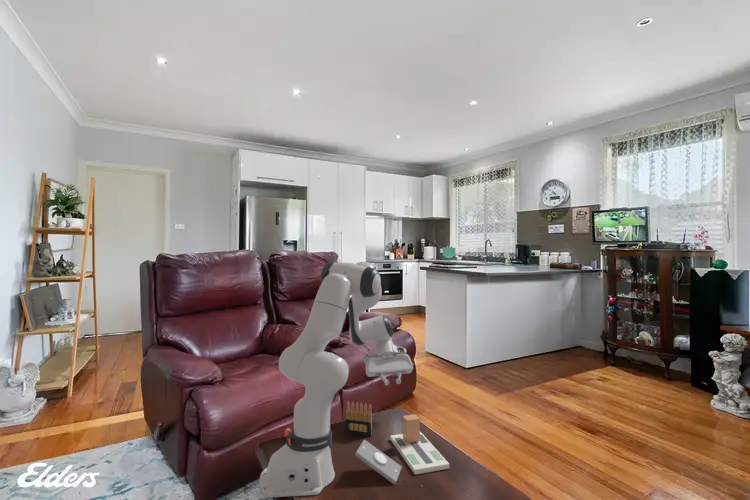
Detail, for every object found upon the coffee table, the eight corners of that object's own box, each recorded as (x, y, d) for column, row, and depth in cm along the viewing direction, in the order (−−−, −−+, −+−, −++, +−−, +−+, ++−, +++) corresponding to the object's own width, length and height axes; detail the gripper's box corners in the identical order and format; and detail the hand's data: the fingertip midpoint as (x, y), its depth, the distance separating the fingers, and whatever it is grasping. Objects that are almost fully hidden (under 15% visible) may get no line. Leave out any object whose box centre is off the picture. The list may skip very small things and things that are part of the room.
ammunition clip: (372, 434, 144) (373, 402, 144) (371, 436, 142) (371, 404, 142) (346, 430, 147) (346, 399, 147) (344, 432, 145) (345, 401, 145)
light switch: (397, 479, 112) (357, 449, 116) (388, 495, 113) (348, 465, 117) (403, 464, 121) (365, 436, 124) (394, 479, 121) (357, 451, 125)
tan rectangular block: (406, 443, 134) (406, 420, 134) (402, 437, 138) (402, 415, 138) (419, 441, 135) (419, 418, 135) (415, 436, 139) (415, 414, 139)
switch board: (414, 474, 118) (414, 469, 118) (390, 439, 140) (390, 435, 140) (449, 468, 121) (449, 463, 121) (420, 435, 143) (420, 430, 143)
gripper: (364, 351, 159) (370, 382, 150) (409, 348, 165) (418, 377, 156) (361, 359, 163) (367, 389, 154) (405, 355, 169) (413, 385, 160)
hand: (393, 383), depth 155 cm, fingers open, 4 cm apart
